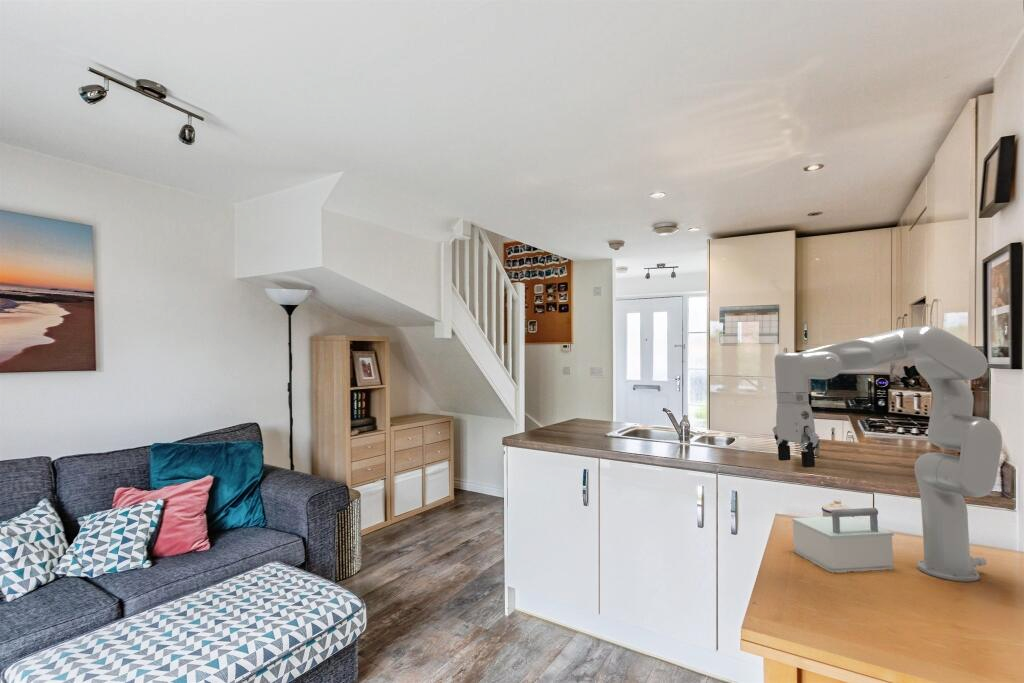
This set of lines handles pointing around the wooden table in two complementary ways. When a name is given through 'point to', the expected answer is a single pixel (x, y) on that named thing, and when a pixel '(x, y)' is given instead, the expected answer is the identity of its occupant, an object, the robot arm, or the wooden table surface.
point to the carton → (843, 551)
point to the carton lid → (845, 524)
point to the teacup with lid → (833, 508)
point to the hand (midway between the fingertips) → (796, 463)
